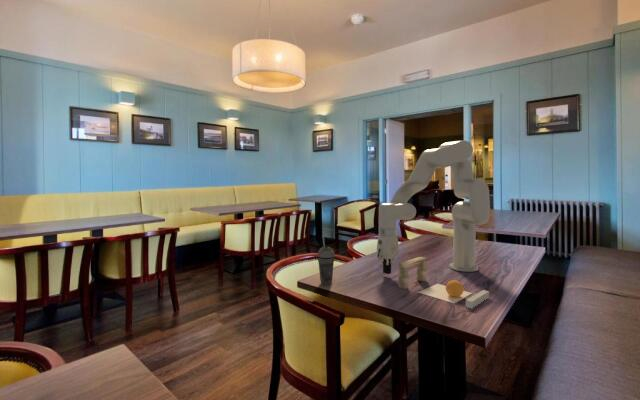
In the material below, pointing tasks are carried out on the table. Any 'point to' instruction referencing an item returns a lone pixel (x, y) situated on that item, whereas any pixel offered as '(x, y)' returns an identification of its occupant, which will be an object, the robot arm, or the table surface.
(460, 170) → the robot arm
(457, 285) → the ball
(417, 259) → the bridge
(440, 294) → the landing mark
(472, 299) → the wall
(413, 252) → the table surface
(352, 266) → the table surface
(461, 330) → the table surface
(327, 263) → the beverage cup
